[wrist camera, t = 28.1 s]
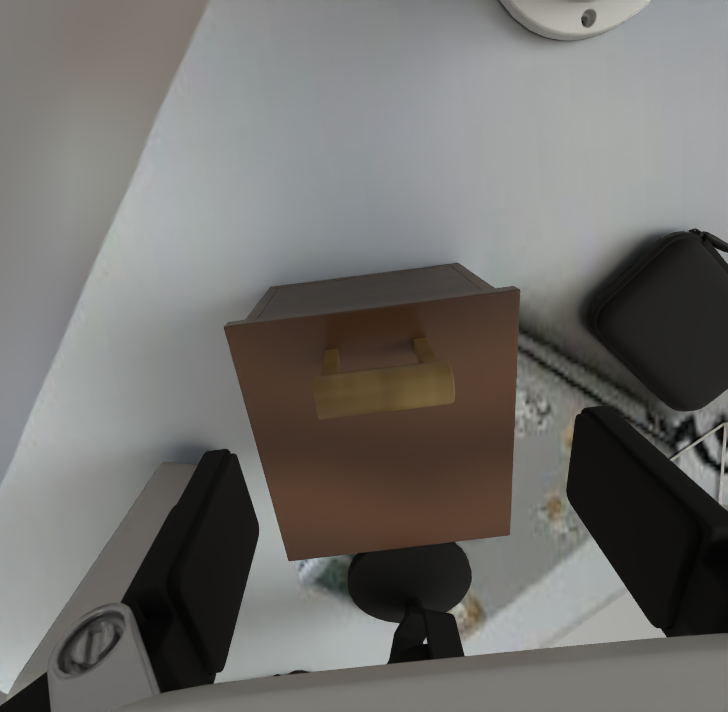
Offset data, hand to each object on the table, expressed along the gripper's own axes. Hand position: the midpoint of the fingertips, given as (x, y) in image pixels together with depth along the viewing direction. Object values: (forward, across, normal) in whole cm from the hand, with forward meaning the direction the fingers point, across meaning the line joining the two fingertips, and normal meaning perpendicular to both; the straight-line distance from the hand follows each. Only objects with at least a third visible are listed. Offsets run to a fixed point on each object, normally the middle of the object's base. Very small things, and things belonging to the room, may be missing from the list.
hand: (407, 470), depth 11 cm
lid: (+10, 0, +7) cm, 12 cm away
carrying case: (+22, -24, +6) cm, 33 cm away
